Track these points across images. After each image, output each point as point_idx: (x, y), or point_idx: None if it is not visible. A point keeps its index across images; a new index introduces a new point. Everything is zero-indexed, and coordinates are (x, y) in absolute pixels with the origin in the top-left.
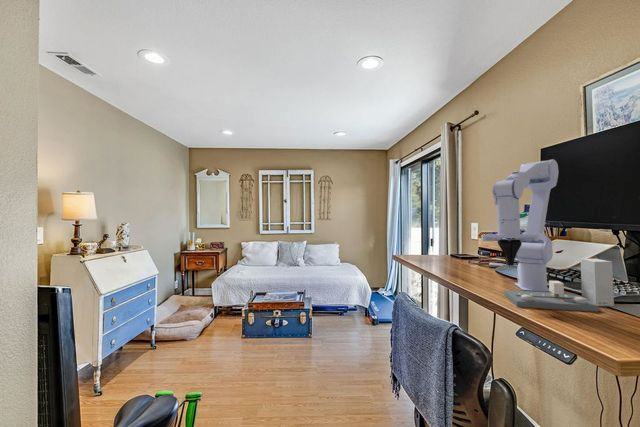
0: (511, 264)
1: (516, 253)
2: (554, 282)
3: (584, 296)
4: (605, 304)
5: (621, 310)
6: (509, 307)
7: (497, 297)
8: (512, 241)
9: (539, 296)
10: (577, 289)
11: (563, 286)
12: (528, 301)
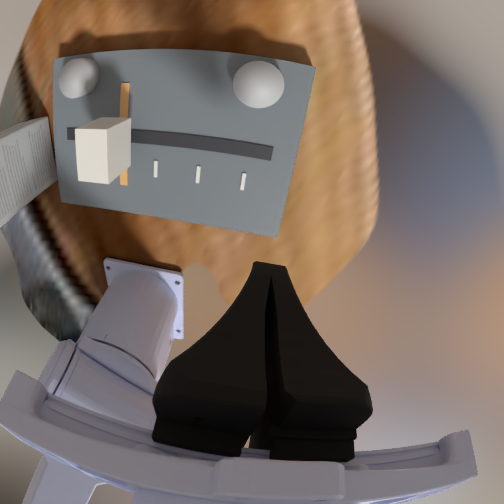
0: (268, 266)
1: (226, 313)
2: (100, 143)
3: (47, 171)
4: (29, 120)
5: (19, 90)
6: (346, 63)
7: (320, 198)
8: (232, 436)
9: (181, 141)
10: (51, 281)
11: (83, 125)
12: (267, 61)
